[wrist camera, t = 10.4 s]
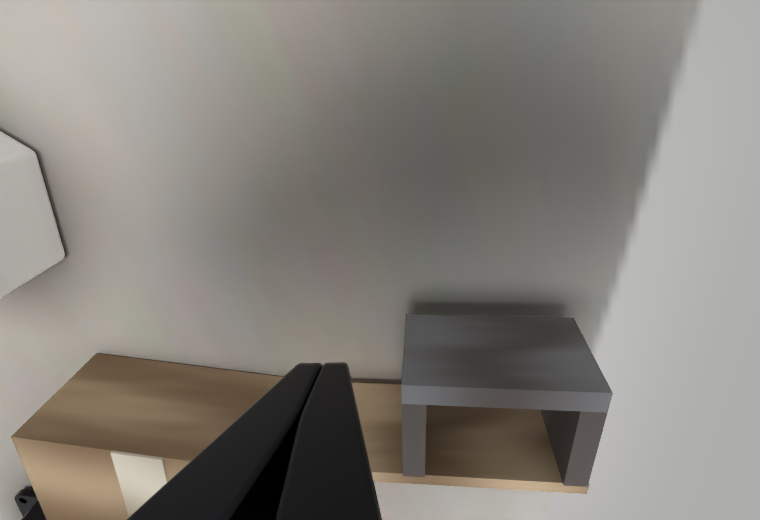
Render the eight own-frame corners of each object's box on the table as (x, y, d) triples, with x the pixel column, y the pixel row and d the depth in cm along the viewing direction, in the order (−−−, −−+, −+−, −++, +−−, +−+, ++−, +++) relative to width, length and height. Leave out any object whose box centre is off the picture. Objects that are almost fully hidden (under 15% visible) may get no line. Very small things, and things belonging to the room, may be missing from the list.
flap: (570, 308, 18) (616, 393, 13) (553, 398, 20) (587, 496, 16) (299, 302, 19) (263, 379, 15) (311, 389, 21) (282, 478, 17)
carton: (301, 521, 26) (275, 624, 22) (135, 498, 27) (76, 594, 22) (300, 379, 21) (266, 474, 16) (96, 353, 21) (8, 439, 17)
